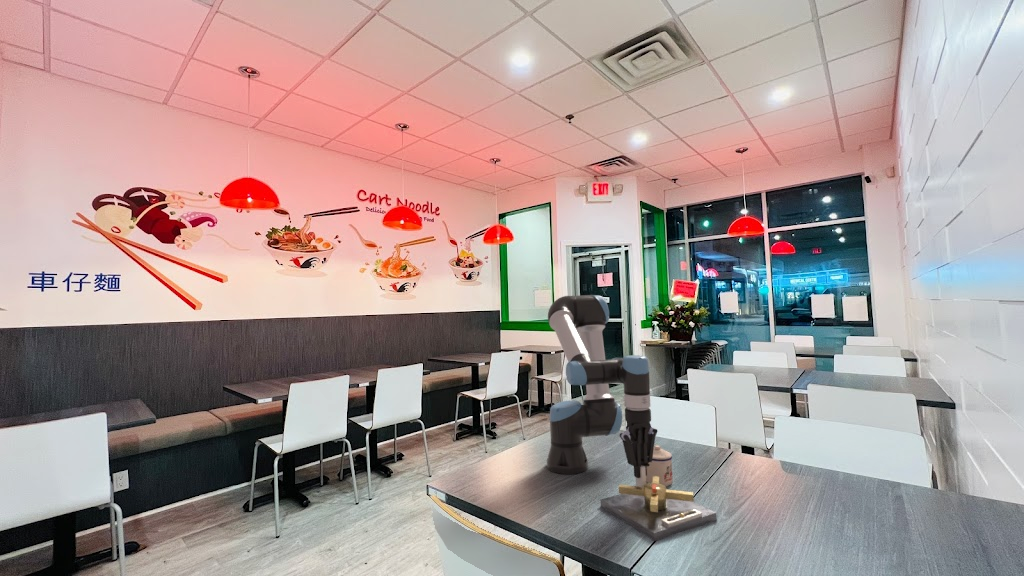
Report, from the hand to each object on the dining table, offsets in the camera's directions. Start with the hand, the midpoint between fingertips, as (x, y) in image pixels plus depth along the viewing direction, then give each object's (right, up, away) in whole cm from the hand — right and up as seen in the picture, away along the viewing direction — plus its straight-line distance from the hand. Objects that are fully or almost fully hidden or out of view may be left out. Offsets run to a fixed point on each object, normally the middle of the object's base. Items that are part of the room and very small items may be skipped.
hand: (641, 487), depth 129 cm
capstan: (+2, -2, -6) cm, 7 cm away
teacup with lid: (+11, -5, +16) cm, 21 cm away
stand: (+2, -4, -7) cm, 8 cm away
